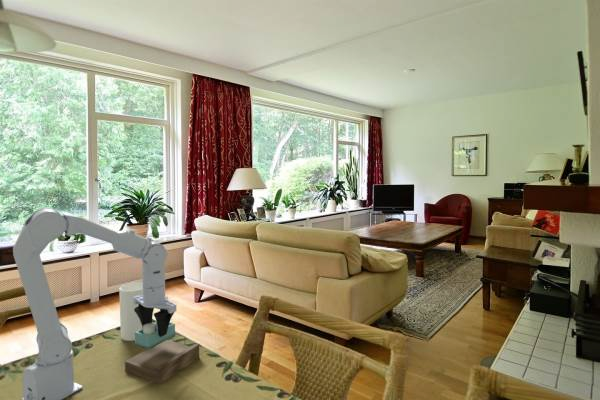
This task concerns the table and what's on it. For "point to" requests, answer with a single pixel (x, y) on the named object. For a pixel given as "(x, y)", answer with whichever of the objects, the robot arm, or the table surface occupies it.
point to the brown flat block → (162, 360)
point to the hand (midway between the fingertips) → (155, 332)
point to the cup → (129, 310)
